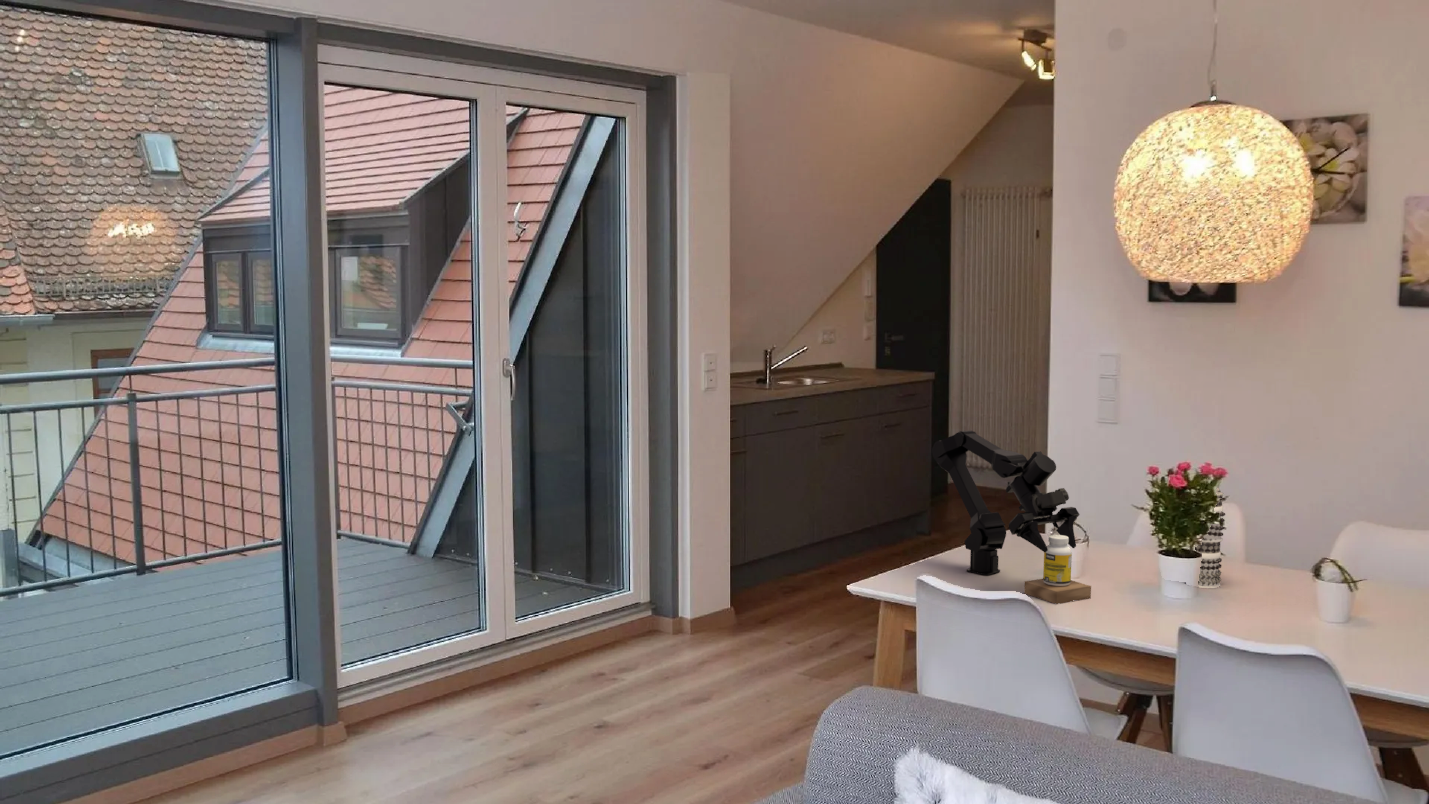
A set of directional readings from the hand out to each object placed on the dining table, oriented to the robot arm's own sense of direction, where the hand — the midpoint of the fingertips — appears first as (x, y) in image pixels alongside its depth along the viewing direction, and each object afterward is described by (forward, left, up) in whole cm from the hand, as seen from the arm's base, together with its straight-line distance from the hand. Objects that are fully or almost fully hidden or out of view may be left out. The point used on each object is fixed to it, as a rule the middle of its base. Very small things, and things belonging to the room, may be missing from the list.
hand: (1060, 549), depth 291 cm
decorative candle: (+18, +37, -12) cm, 43 cm away
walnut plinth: (-1, 0, -12) cm, 12 cm away
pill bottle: (-1, 0, -9) cm, 9 cm away
